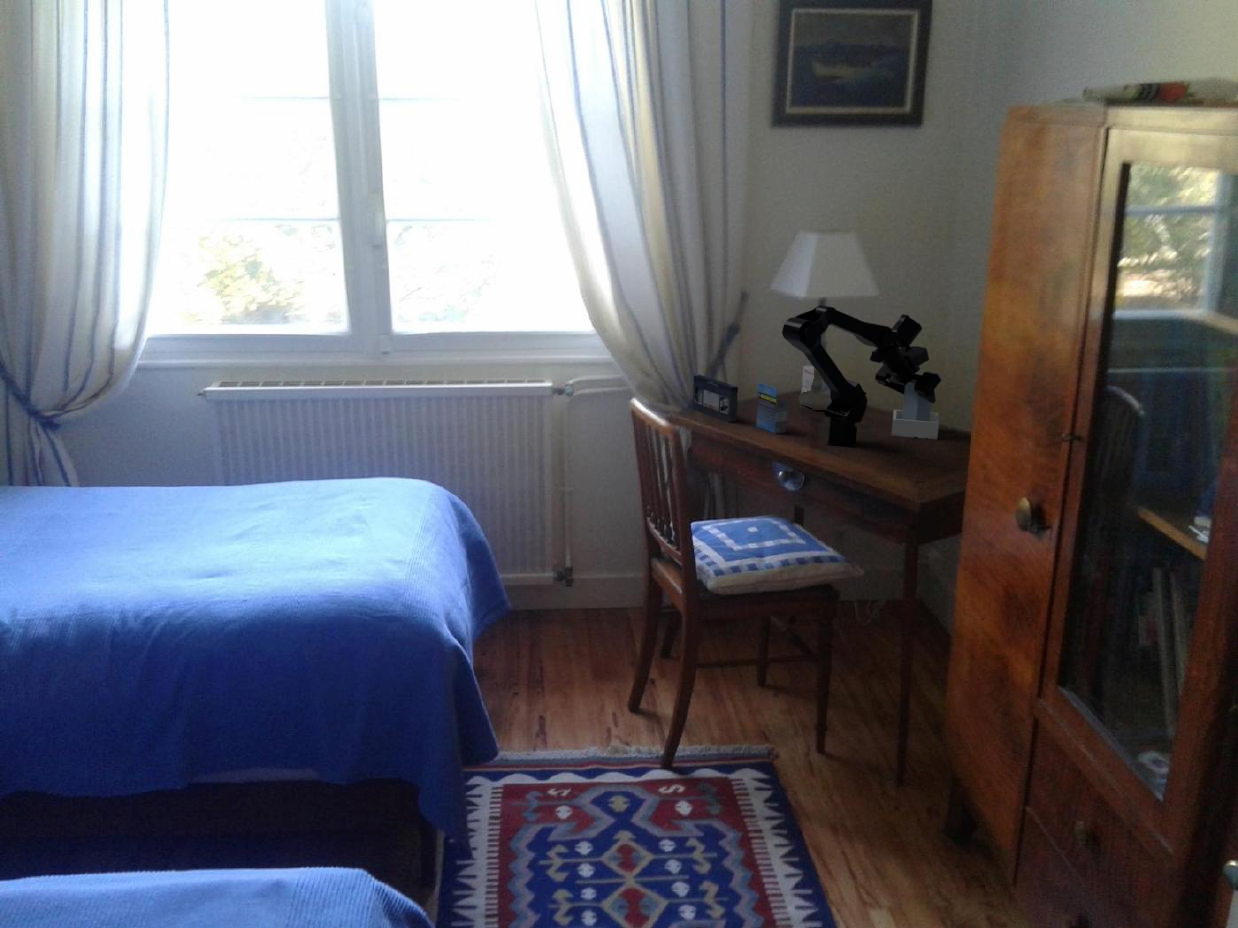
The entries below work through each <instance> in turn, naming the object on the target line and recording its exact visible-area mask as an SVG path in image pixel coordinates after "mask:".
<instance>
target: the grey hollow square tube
mask: <svg viewBox="0 0 1238 928" xmlns="http://www.w3.org/2000/svg"><path fill="white" fill-rule="evenodd" d="M914 385H915V383H912V382H909V383H907V384H906V386H905V392H904V395H903V402H902V403H903V404H902V410H903V413H902V419H903V420H916V421H928V422H929V420H930V413H931V410H932V409H931V408H932V403H931V402H929V401H927V400H925V399H924V398H922V397H920V396H919V395H917V394H918V393H916V392H915V390H914Z"/></svg>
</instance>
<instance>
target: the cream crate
mask: <svg viewBox="0 0 1238 928" xmlns="http://www.w3.org/2000/svg"><path fill="white" fill-rule="evenodd" d="M902 413H903V409H902V410H901V409H893V414H892V425H891V435H890V436H894V437H901V438H902V437H903V438H914V437H918V438H917V439H926V438H928V439H927V440H938V434H939V427H940V426H939V425H940V421H939V413H938V412H930V420H929V422H928V421H916V420H903V419H902Z"/></svg>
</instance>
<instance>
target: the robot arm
mask: <svg viewBox="0 0 1238 928" xmlns="http://www.w3.org/2000/svg"><path fill="white" fill-rule="evenodd" d="M829 326H832V327H834V328H836V329H839V330H841V331H844V332H846V333H848V334H852V336H854V337H855V338H856V340H857V341H859V342H860V343H862V344H863V345H864V346H868V347H873V348H876V349H875V350H872V351H871V355H870V357H869V361H870V362H874V363H878V364H881V363H882V366H881V367H880V368H879V370H878V371H877V372H876V373H875V375H874V376H875V377H874V378H875V379H874V380H875V381H876V382H877V384H879V385H882V386H884V387H886V388H888V389H890V390H893V391H895V392H897V393H899V394H901V395H903V396H904V392H905V386H906V384H907V383H909V382H912V383H915V385H914V390H915V392H916V393H918V394H917V395H919V396H920V397H922V398H924V399H925V400H927V401H929V402H931V404H933V405H934V404H935V403H936V393H935V390H936V388H937V387H938V386H939V384H940V383H941V381H942V378H941V376H940V375H939V374H938V373H935V372H932V371H924V372H923V373H922V374H918V372H920V370H921V367H920V366H922V365H923V364H924V363H926V362H928V361H930V356H929V352H928V349H927V348H926V347H923V346H920V345H919V346H918V345H915V346H914V345H912V343H913V342H914V341H915V339H916V338H917V337H918V336H919V334H920V333H921V332H922V331H923V326H922V325H921V324H920V323H918V322H917V321H916V320H915V319H913V318H912V317H910V316H909V314H905V313H903V314H901V315H900V317H898V319H897V321H896V323H895V324H893V326H892V327H890V326H887V325H883V324H877V323H872V322H867V321H863V320H861V319H858V318H857V317H854V316H852V315H850V314H847V313H844V312H842V311H840V310H837V309H836V308H835V307H833V306H830V305H829V306H827V305H818V306H816V307H814V308H813V309H811V310H808V311H805V312H802V313H799V314H797V315H796V316H794V317H790V318H788V319H787V320H785V322H784V324H783V326H782V331H781V334H782V337H783V338H784V340H785V341H786V342H788V343H789V344H790V345H791V346H792V347H794V348H796V349H797V350H799V351H800V352H801V353H803V355H804V356H805V357H806V359H807V360H808V361H809V363H810V364H811V366H813V367H814V368H815V370H816V371H817V372H818V374H819V375H820V376H821V378H822V379H823V381H824V382H825V383H826V385H827V386H828V388H829V389H830V403H829V404H828V405H827V406H826V408H825V409H824V411H823V412H824V416H825V417H826V418H829V419H830V420H829V427H828V428H829V429H828V440H827V443H826V444H827V445H829V446H830V445H831V446H842V447H854V445H855V444H856V443H857V438H858V428H859V427H858V424H856V423H861V422H862V421H863V418H864V415H865V412H866V409H867V408H868V407H867V405H868V402H869V400H868V397H867V396H866V395H867V394H868V393H867V392H865V390H864V389H863V387H862V385H861V384H860V382H856V381H853V380H850V379H849V380H848V379H847V378H846V377H845V376H844V374H843V373H842V372H841V370H840V368H839V367H838V366H837V365H836V363H835V362H834V360H833V358H832V357H831V356H830V354H829V353H828V352H827V350H826V349H825V348H824V346H823V344H822V335H823V334H824V333H825V332H826V331H827V330H828V328H829Z"/></svg>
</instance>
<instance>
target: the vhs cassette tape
mask: <svg viewBox="0 0 1238 928" xmlns="http://www.w3.org/2000/svg"><path fill="white" fill-rule="evenodd" d="M692 385H693V386H692V387H693V390H692V391H693V395H692V410H695V411H697V412H699V413H701V414H705V415H707V416H710V417H712V418H715V419H718V420H720V421H723V422H725V423H728V424H731V423H737V418H738V417H737V415H738V414H737V413H738V398H739V396H738V394H739V387H738V386H736V385H733V384H730V383H728V382H724V381H721V380H718V379H715V378H711V377H707V376H704V375H702V374H696V375H693V384H692Z"/></svg>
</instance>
